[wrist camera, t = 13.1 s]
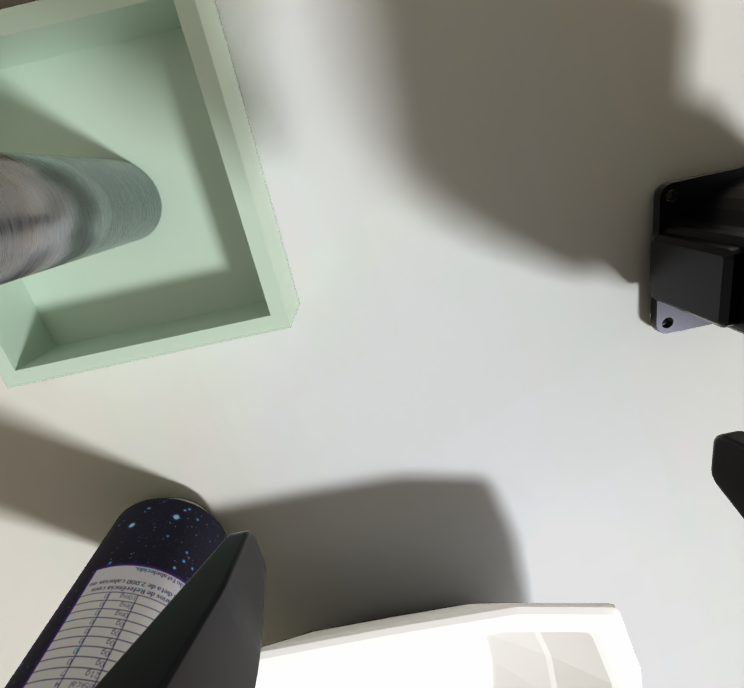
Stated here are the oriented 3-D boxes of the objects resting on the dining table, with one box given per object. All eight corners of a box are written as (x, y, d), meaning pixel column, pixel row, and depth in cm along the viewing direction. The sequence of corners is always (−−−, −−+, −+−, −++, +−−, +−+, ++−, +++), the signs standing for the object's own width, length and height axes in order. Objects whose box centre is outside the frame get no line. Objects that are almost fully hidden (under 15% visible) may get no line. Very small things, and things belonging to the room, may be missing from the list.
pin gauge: (143, 150, 16) (-127, 121, 7) (173, 232, 17) (-26, 300, 8) (64, 168, 16) (-303, 164, 7) (100, 248, 18) (-181, 335, 8)
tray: (215, 3, 15) (184, -36, 12) (299, 303, 19) (291, 327, 16) (-87, 76, 16) (-185, 54, 13) (57, 356, 20) (7, 388, 17)
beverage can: (100, 501, 23) (-142, 823, 11) (206, 473, 22) (62, 777, 11) (150, 580, 25) (-15, 919, 13) (247, 555, 24) (161, 882, 13)
